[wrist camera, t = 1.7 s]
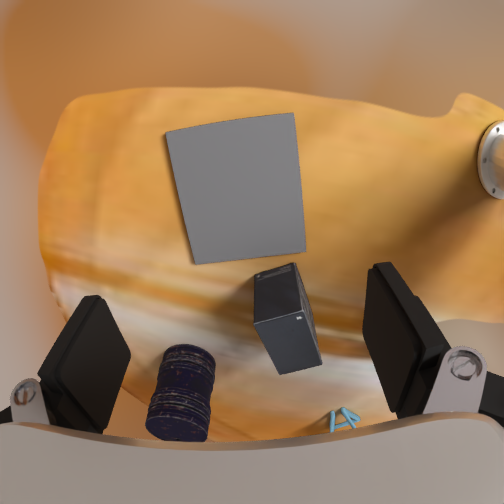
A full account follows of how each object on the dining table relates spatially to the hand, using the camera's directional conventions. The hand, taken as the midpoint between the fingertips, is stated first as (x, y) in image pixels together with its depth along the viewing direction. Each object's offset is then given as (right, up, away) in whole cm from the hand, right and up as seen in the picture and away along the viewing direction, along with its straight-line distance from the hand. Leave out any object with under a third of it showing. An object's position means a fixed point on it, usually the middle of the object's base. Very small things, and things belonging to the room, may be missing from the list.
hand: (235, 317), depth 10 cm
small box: (+5, -4, +35) cm, 36 cm away
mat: (-1, +10, +28) cm, 29 cm away
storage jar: (-11, -18, +43) cm, 47 cm away
